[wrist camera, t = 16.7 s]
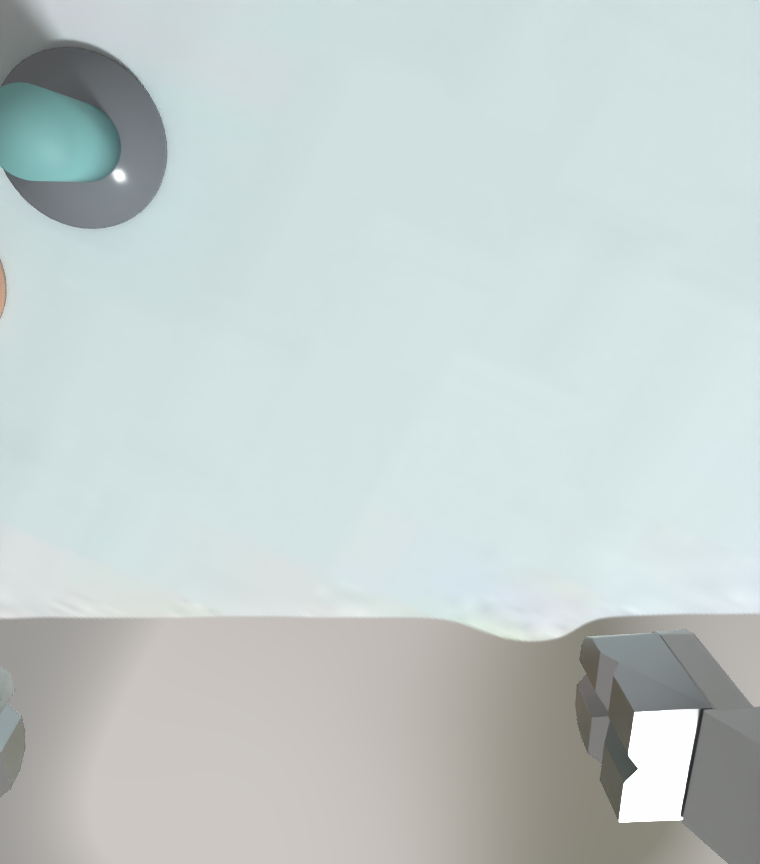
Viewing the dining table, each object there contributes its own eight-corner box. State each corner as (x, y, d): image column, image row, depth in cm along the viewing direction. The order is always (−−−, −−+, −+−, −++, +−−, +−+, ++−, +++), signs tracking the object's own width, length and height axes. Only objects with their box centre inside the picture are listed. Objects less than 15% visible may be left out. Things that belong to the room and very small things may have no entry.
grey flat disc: (156, 48, 36) (154, 47, 35) (176, 227, 39) (174, 227, 38) (-21, 48, 35) (-24, 47, 35) (14, 229, 38) (11, 229, 38)
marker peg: (116, 101, 36) (67, 82, 29) (125, 182, 37) (81, 180, 31) (38, 101, 36) (-28, 82, 29) (50, 181, 37) (-10, 181, 31)
